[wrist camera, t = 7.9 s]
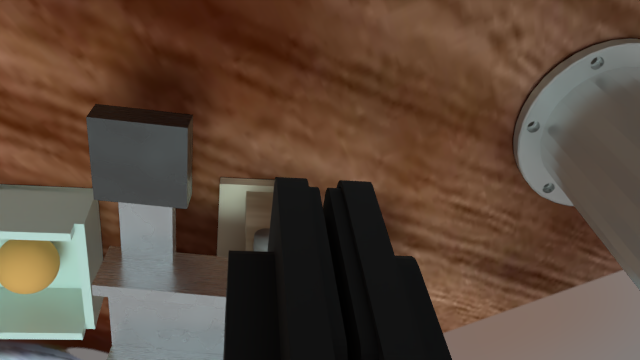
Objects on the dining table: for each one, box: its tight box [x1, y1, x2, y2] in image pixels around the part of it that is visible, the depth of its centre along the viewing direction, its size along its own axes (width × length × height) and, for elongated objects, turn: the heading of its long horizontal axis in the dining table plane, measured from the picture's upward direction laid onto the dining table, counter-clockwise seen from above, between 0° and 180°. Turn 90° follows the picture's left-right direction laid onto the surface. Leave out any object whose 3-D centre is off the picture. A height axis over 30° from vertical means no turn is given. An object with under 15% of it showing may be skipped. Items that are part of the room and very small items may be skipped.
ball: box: [0, 240, 60, 294], centre depth 41 cm, size 4×4×4 cm
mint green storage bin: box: [0, 184, 104, 340], centre depth 39 cm, size 9×9×9 cm
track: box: [86, 104, 228, 360], centre depth 37 cm, size 19×18×6 cm
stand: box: [217, 177, 275, 257], centre depth 42 cm, size 6×13×9 cm, turn 173°
